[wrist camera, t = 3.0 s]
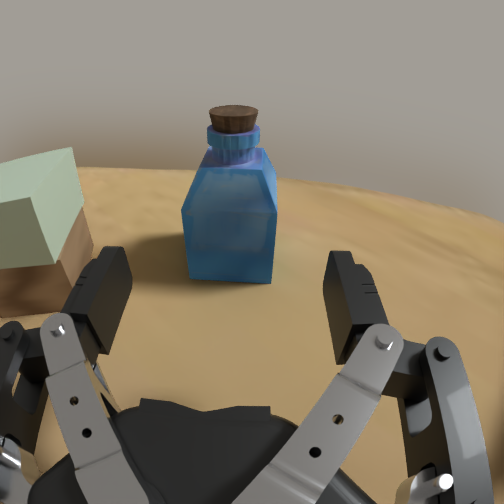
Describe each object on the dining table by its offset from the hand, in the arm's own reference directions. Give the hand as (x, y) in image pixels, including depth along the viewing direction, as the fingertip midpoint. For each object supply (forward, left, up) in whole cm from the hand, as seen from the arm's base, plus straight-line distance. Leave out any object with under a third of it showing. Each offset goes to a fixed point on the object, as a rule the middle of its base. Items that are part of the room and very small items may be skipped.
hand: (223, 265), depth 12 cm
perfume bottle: (0, +11, -9) cm, 14 cm away
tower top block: (-16, +7, -4) cm, 18 cm away
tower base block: (-16, +7, -9) cm, 20 cm away
